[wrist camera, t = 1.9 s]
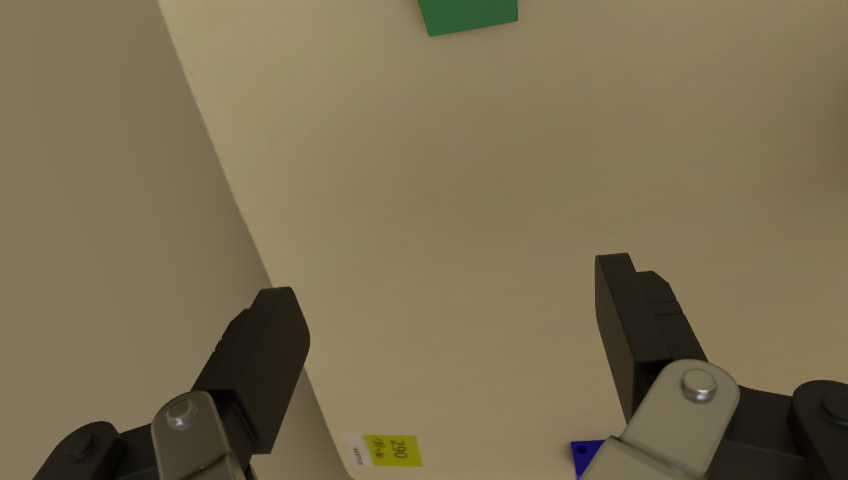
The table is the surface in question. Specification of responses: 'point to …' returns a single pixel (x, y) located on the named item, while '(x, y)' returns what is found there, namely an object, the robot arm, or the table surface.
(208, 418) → the robot arm
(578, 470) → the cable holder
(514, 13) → the block
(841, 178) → the table surface
